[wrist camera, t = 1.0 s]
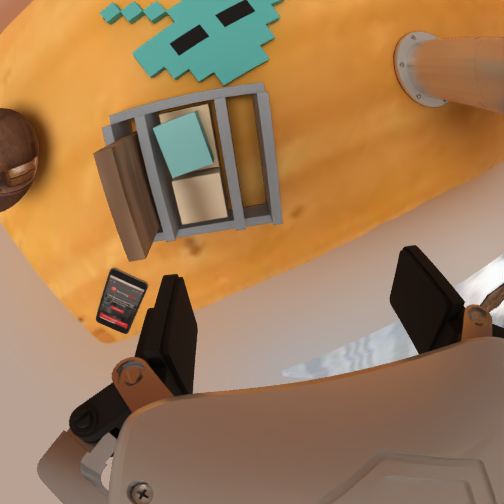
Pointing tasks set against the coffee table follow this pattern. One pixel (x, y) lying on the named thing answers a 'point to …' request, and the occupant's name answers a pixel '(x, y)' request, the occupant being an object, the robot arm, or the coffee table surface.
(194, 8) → the alien figure
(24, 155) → the wooden sphere
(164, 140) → the offcut teal
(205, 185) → the offcut beech
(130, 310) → the smartphone
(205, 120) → the offcut oak wide
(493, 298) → the wooden fragment
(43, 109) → the coffee table surface
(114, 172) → the brown block
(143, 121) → the rack
